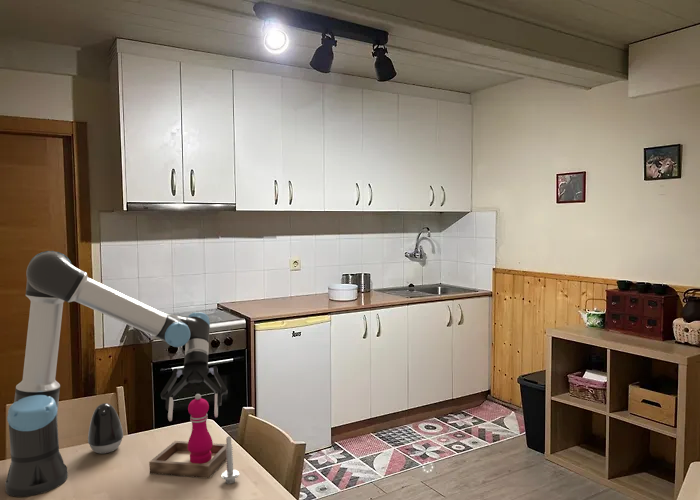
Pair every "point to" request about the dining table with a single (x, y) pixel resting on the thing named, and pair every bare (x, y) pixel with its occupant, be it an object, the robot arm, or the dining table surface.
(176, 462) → the walnut tray
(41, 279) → the robot arm
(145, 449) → the dining table surface
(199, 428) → the pepper mill
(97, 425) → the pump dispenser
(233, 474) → the screw
